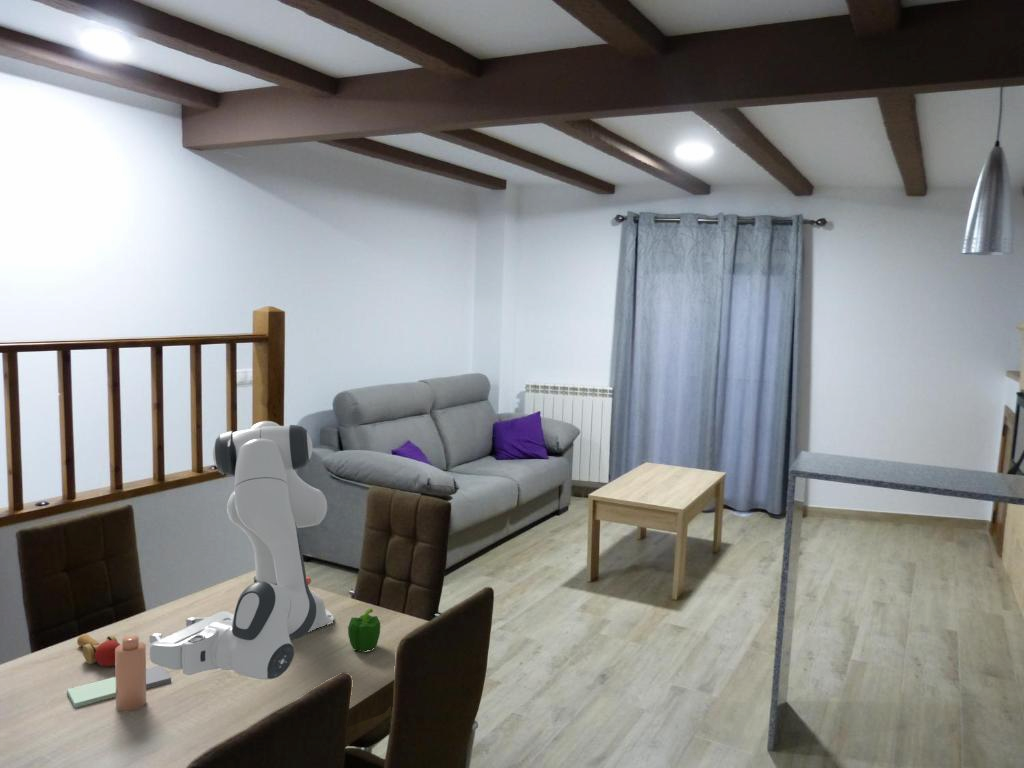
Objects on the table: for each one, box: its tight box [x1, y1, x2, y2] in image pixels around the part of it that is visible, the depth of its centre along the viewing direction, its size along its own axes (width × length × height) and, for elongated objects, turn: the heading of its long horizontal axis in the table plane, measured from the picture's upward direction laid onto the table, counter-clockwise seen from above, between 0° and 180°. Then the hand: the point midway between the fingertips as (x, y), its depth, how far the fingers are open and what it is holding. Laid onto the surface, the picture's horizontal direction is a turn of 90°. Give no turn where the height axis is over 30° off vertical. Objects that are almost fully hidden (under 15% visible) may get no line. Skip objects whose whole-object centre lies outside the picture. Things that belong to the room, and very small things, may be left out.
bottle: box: [114, 635, 147, 712], centre depth 174 cm, size 6×6×15 cm
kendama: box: [77, 633, 121, 668], centre depth 195 cm, size 8×6×18 cm
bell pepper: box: [347, 608, 381, 652], centre depth 205 cm, size 8×8×10 cm
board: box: [66, 665, 172, 709], centre depth 181 cm, size 20×8×1 cm, turn 130°
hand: (170, 629), depth 167 cm, fingers open, 8 cm apart
